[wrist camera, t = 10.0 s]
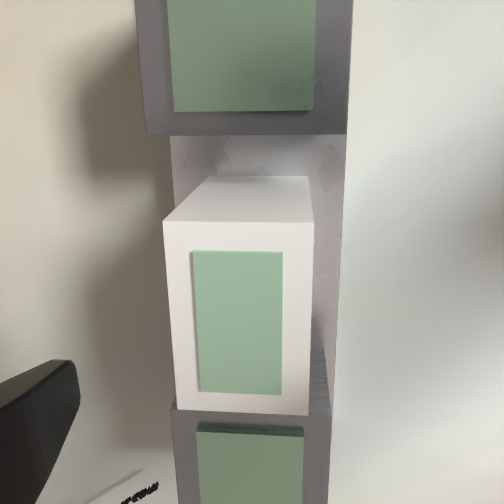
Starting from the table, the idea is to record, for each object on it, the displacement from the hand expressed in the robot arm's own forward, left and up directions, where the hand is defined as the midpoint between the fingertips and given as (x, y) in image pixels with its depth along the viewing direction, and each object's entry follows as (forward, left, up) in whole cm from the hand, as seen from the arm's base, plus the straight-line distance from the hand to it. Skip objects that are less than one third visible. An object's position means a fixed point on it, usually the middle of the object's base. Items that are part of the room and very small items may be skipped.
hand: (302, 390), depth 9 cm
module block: (+2, +1, -11) cm, 11 cm away
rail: (+2, 0, -13) cm, 13 cm away
